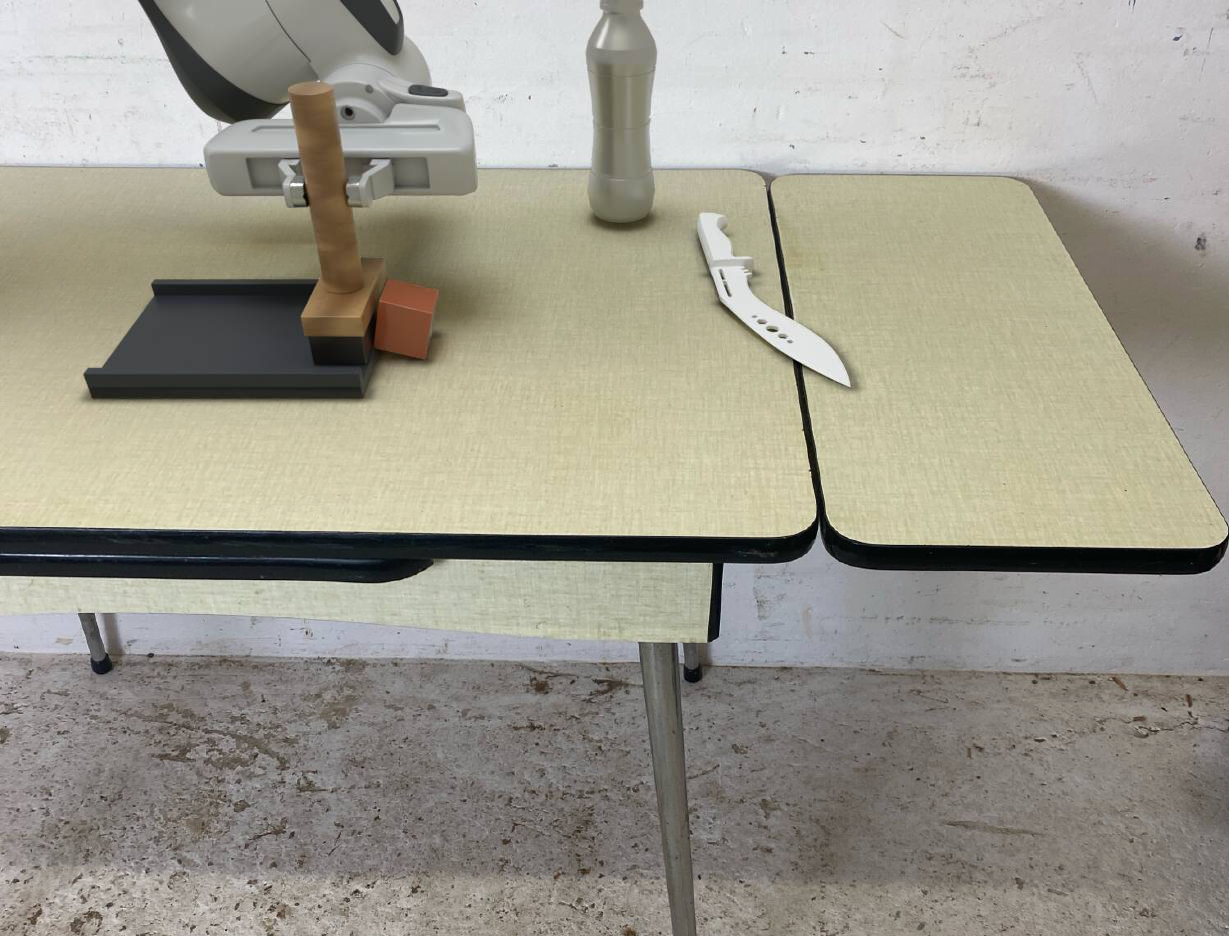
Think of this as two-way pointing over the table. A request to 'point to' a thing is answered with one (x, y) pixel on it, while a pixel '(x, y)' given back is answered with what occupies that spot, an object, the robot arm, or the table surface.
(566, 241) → the table surface
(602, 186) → the plastic bottle
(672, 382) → the table surface
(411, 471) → the table surface
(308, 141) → the brush
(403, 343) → the block
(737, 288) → the knife
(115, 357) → the tray
